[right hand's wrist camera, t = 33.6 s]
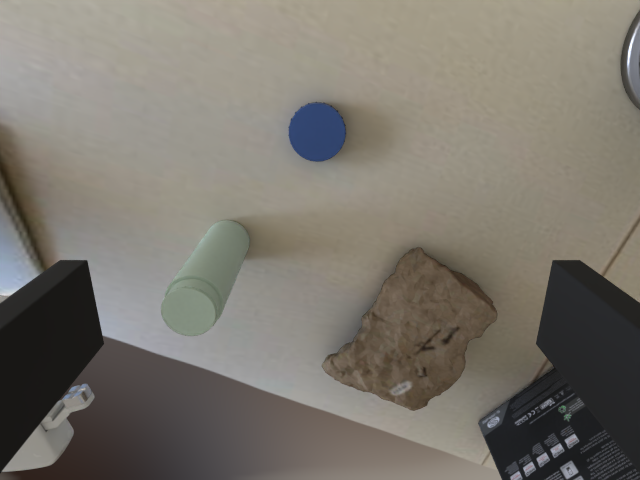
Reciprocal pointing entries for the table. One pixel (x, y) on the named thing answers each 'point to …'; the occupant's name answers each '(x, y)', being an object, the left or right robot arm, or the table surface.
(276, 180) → the table surface
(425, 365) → the stone
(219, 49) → the table surface
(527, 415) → the graphics card box
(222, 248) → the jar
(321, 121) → the lid
